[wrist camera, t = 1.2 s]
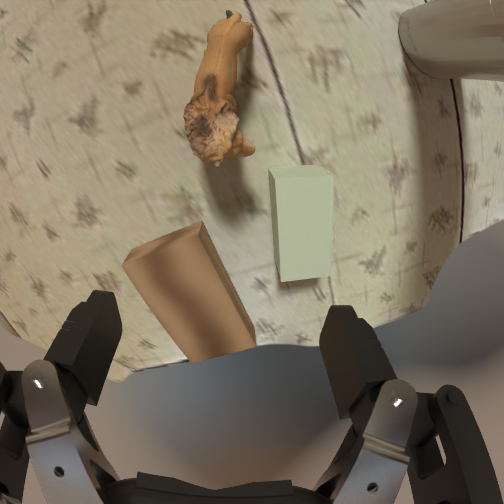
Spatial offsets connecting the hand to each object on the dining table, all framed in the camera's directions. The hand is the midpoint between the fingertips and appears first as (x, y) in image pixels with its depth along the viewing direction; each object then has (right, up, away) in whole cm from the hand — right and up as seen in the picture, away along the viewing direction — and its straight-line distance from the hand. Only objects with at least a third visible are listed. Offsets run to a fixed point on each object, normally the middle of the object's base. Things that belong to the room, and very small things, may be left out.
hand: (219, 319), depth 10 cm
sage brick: (+6, +7, +19) cm, 21 cm away
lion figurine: (-1, +18, +12) cm, 22 cm away
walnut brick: (-6, -2, +23) cm, 24 cm away
